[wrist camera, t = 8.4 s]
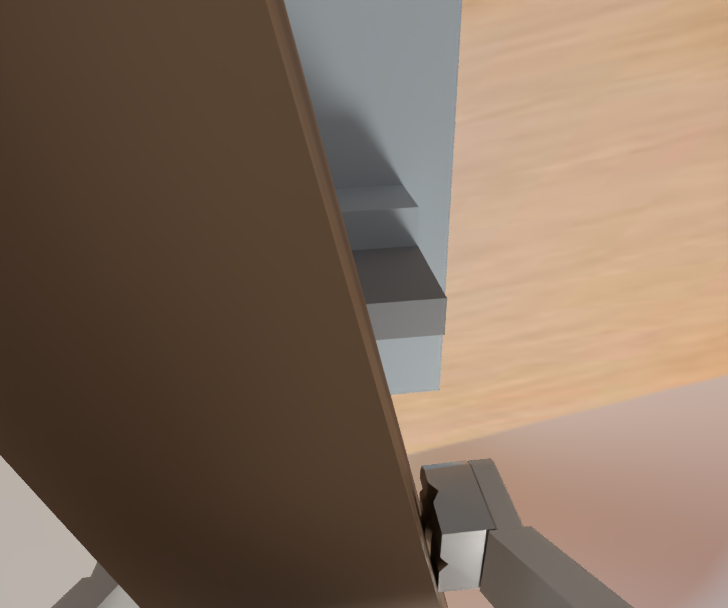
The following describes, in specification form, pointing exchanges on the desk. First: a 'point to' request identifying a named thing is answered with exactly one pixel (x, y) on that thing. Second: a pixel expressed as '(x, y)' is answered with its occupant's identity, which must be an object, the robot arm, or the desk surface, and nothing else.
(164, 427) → the bar
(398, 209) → the ridge stand
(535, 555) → the robot arm
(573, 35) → the desk surface
